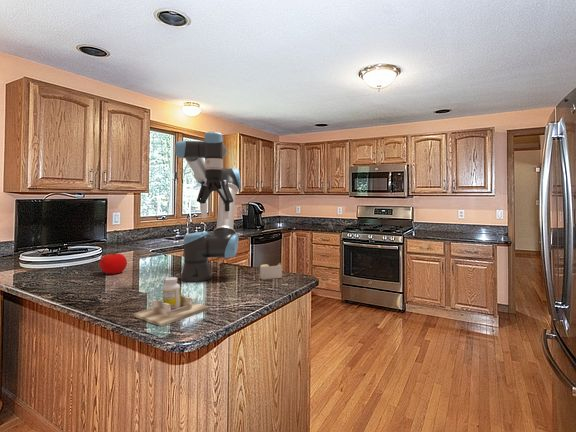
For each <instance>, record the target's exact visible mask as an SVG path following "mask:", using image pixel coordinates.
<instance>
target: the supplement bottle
mask: <svg viewBox="0 0 576 432" xmlns="http://www.w3.org/2000/svg"><path fill="white" fill-rule="evenodd" d="M164 283H165V284H164V285H163V286H162V302H164V303H168V304H170V306H171V310H174V309H177V308H180V307H181V301H180V295H181V285H180V284H179V283H178V277H175V276H171V277H170V276H169V277H166V278H165V279H164Z"/></svg>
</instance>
